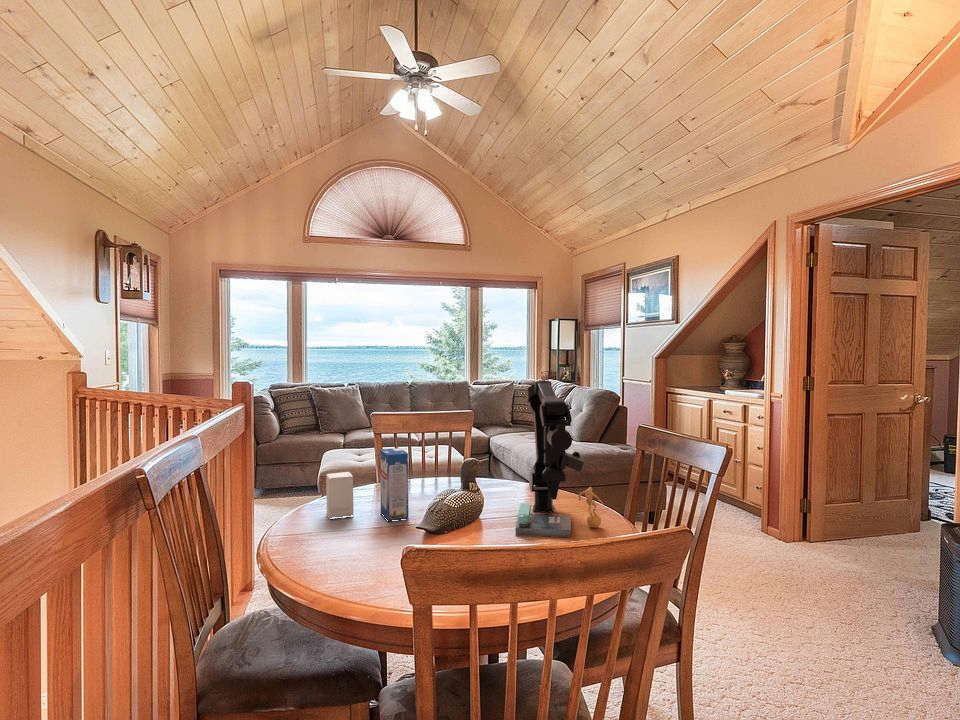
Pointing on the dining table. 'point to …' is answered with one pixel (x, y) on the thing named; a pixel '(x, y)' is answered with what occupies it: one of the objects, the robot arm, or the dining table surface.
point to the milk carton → (394, 483)
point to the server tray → (546, 525)
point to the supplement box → (339, 494)
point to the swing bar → (524, 513)
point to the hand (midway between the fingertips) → (554, 499)
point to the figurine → (593, 518)
